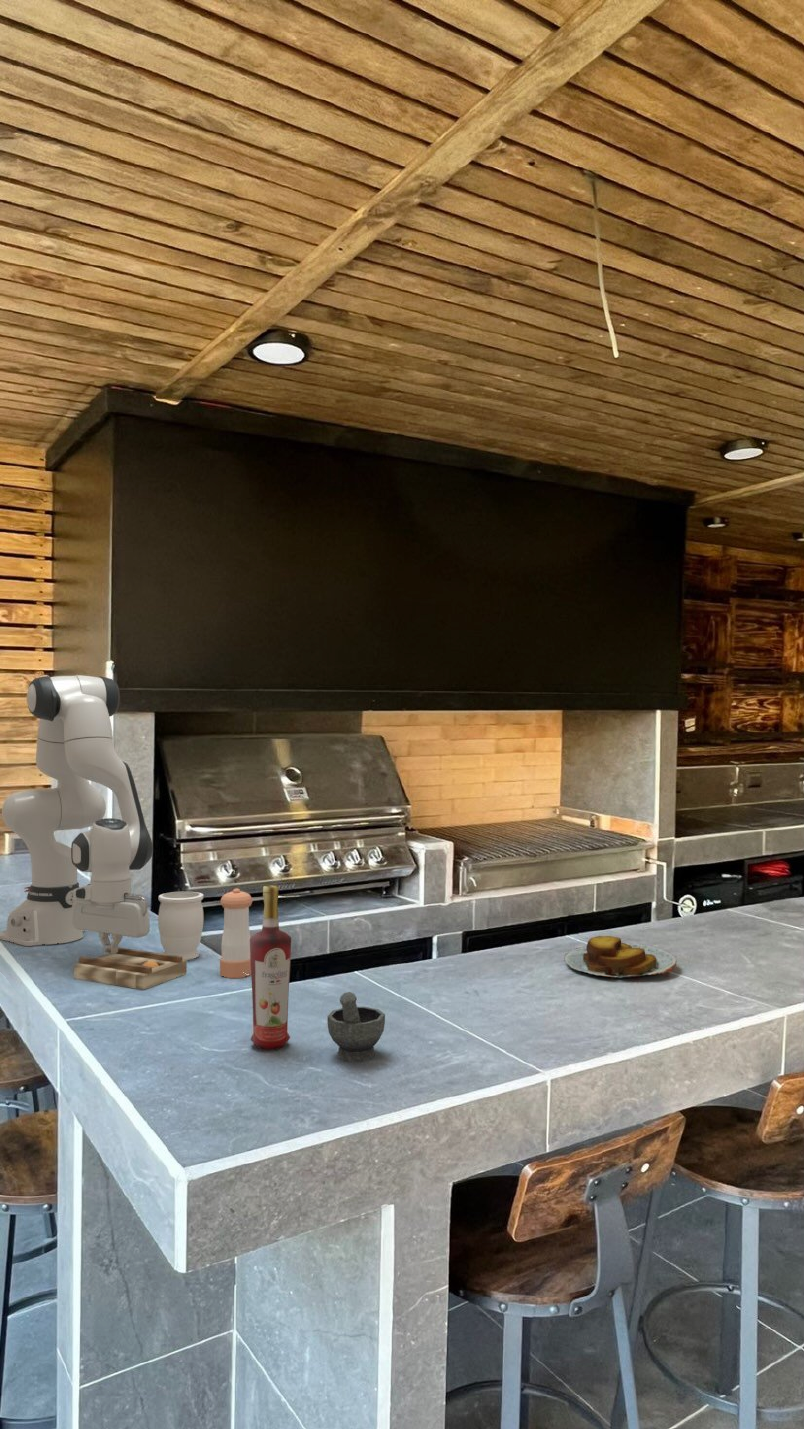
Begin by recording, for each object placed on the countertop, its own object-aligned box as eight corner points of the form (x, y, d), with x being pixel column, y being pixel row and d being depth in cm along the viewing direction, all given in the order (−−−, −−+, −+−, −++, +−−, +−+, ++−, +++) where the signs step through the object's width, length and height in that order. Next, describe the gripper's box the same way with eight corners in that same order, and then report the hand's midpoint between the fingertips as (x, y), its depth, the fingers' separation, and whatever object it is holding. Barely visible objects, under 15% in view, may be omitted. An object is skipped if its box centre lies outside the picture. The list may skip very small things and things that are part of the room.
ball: (136, 979, 208) (137, 961, 208) (148, 975, 211) (149, 957, 211) (150, 983, 206) (151, 964, 206) (162, 978, 210) (163, 960, 210)
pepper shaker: (245, 979, 209) (246, 892, 209) (214, 977, 210) (214, 891, 210) (257, 970, 216) (257, 886, 216) (227, 968, 218) (227, 885, 218)
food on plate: (696, 980, 210) (696, 951, 210) (590, 987, 205) (590, 957, 205) (644, 951, 235) (644, 925, 234) (549, 957, 229) (549, 930, 229)
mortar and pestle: (338, 1043, 168) (338, 975, 168) (389, 1047, 166) (389, 979, 166) (318, 1066, 158) (318, 994, 158) (373, 1070, 155) (373, 997, 155)
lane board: (73, 978, 210) (73, 959, 210) (118, 963, 222) (118, 945, 222) (143, 989, 201) (143, 970, 201) (186, 973, 213) (186, 955, 213)
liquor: (255, 1055, 162) (255, 891, 162) (244, 1041, 169) (245, 884, 169) (296, 1049, 165) (296, 888, 165) (284, 1036, 172) (284, 882, 172)
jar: (208, 952, 232) (209, 891, 232) (195, 963, 222) (195, 899, 222) (166, 951, 233) (167, 890, 233) (151, 962, 223) (151, 898, 223)
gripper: (156, 893, 212) (155, 954, 212) (87, 885, 221) (87, 944, 221) (136, 898, 207) (136, 961, 207) (67, 889, 216) (66, 950, 216)
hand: (110, 952), depth 214 cm, fingers closed
